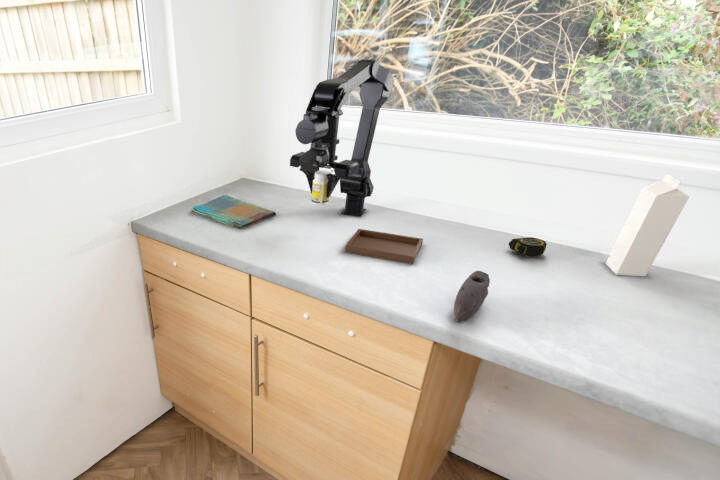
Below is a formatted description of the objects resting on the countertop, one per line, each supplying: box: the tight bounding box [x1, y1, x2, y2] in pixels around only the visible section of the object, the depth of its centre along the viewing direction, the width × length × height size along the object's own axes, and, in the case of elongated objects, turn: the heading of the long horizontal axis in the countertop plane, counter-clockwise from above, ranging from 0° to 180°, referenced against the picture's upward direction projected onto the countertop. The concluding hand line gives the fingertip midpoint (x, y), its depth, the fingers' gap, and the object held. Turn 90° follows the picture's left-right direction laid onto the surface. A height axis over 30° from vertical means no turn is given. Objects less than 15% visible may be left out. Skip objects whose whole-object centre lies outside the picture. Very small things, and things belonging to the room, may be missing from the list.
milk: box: [605, 173, 690, 277], centre depth 107 cm, size 6×6×22 cm
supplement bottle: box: [311, 169, 331, 206], centre depth 131 cm, size 5×5×8 cm
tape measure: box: [508, 236, 547, 258], centre depth 121 cm, size 7×7×4 cm
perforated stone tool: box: [453, 270, 491, 323], centre depth 99 cm, size 15×5×7 cm, turn 141°
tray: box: [344, 228, 424, 265], centre depth 128 cm, size 13×18×2 cm
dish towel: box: [189, 194, 277, 230], centre depth 154 cm, size 17×23×2 cm
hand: (320, 195), depth 132 cm, fingers closed on supplement bottle, 5 cm apart
